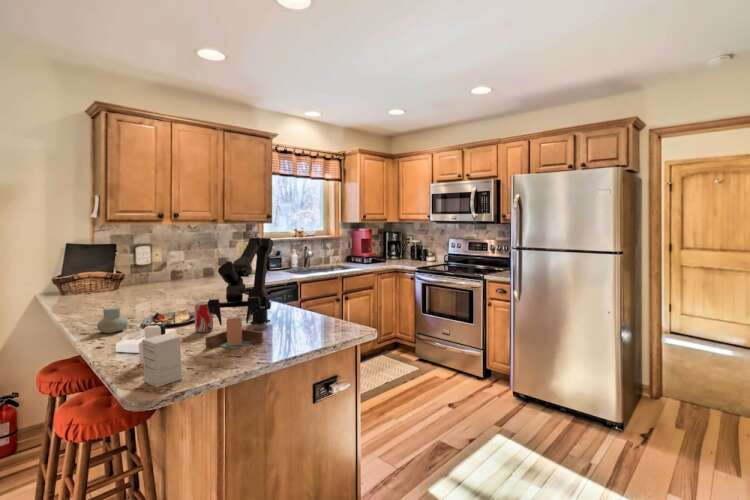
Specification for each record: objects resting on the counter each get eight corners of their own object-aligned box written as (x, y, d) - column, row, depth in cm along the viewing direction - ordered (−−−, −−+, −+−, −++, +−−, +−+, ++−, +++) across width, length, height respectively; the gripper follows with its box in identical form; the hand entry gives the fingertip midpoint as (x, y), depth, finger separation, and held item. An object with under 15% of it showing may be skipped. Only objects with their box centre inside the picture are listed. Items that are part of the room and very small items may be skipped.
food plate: (146, 318, 193) (146, 310, 193) (199, 313, 202) (198, 307, 202) (139, 332, 170) (138, 324, 170) (198, 326, 179) (198, 319, 179)
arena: (234, 337, 158) (234, 327, 158) (262, 342, 152) (262, 331, 152) (205, 348, 145) (205, 337, 145) (235, 353, 139) (234, 341, 139)
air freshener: (93, 335, 165) (92, 311, 164) (103, 329, 173) (101, 307, 172) (123, 333, 167) (121, 309, 166) (130, 328, 175) (129, 305, 174)
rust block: (228, 341, 151) (227, 318, 151) (242, 340, 153) (241, 317, 152) (227, 345, 147) (226, 321, 146) (241, 344, 148) (240, 320, 147)
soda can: (206, 333, 165) (205, 304, 164) (191, 332, 166) (190, 304, 165) (216, 329, 172) (215, 301, 171) (202, 328, 173) (201, 301, 172)
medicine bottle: (150, 357, 136) (148, 322, 135) (172, 356, 137) (170, 321, 136) (139, 364, 129) (138, 328, 128) (162, 363, 129) (161, 327, 129)
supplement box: (169, 374, 120) (167, 333, 119) (182, 379, 116) (180, 336, 115) (143, 382, 114) (141, 339, 113) (156, 388, 110) (154, 343, 109)
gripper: (207, 278, 149) (203, 313, 140) (258, 276, 154) (259, 310, 144) (211, 295, 158) (208, 330, 148) (260, 292, 162) (260, 326, 152)
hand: (233, 323), depth 148 cm, fingers open, 9 cm apart
